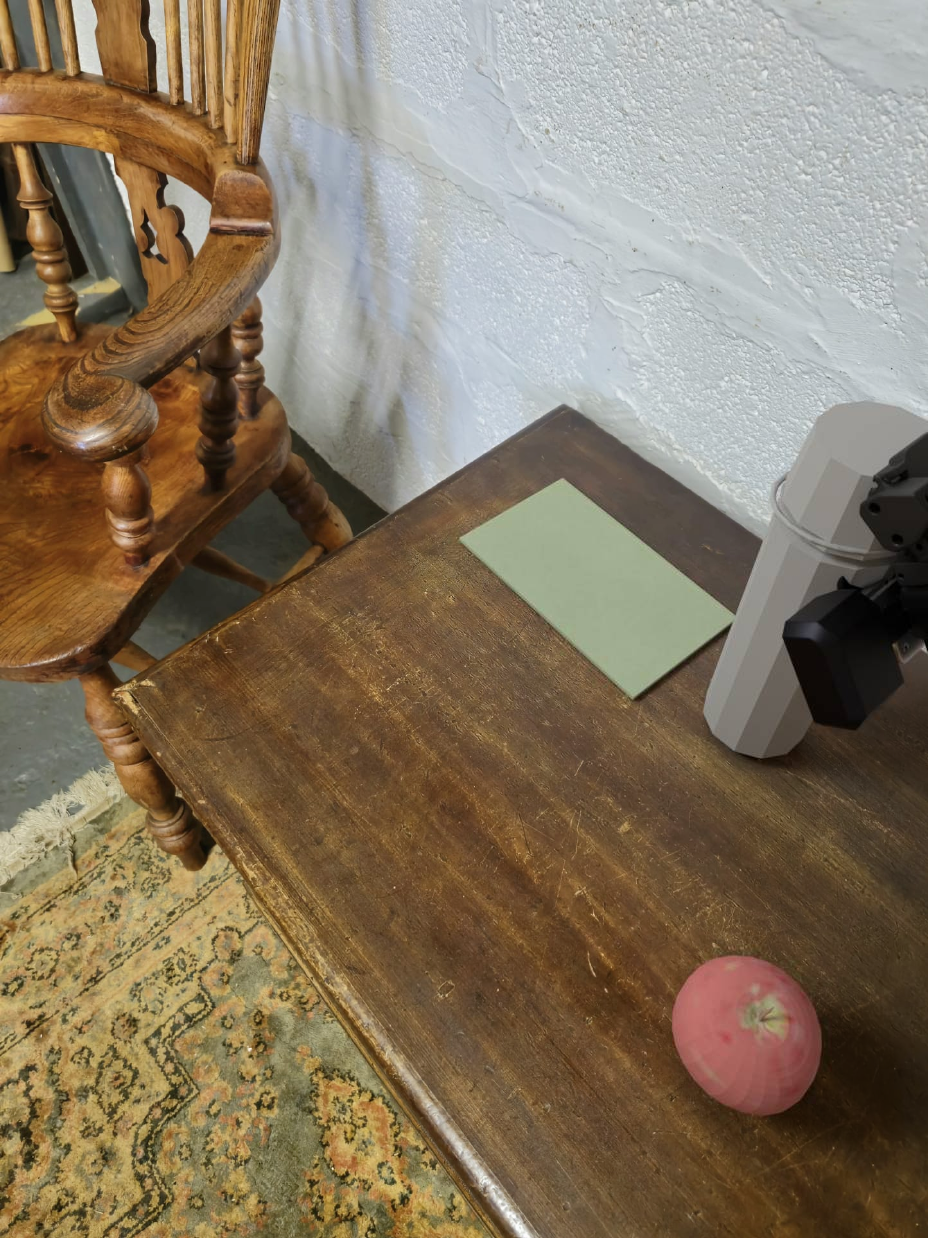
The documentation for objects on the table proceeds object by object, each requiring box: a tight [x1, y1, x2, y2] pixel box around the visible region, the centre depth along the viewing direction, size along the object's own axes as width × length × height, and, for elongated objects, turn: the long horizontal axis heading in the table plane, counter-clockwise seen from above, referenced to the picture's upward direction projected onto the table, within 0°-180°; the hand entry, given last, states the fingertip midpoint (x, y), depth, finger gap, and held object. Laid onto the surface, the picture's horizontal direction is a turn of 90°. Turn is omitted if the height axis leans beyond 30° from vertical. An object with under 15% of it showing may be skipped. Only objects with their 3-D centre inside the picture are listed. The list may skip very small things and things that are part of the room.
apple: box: [671, 954, 823, 1117], centre depth 45 cm, size 7×7×8 cm
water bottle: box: [702, 400, 928, 759], centre depth 52 cm, size 9×8×25 cm
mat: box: [458, 477, 736, 701], centre depth 69 cm, size 20×12×1 cm, turn 40°
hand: (791, 593), depth 53 cm, fingers closed
